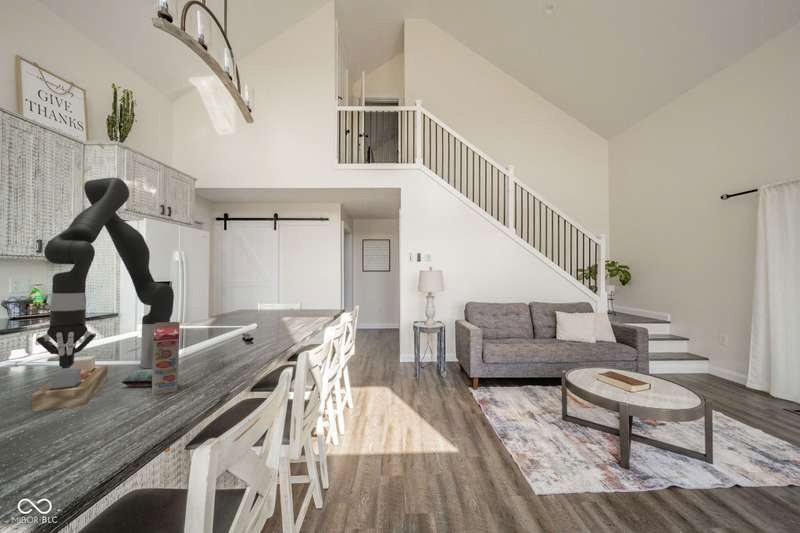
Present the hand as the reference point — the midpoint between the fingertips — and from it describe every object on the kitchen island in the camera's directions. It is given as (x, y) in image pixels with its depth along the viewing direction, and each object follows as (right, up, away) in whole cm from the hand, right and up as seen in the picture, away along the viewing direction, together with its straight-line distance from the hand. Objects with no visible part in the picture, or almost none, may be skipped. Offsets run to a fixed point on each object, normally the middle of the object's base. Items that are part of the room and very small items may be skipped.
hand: (66, 367), depth 99 cm
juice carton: (+21, -11, +11) cm, 26 cm away
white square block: (-8, -5, +14) cm, 17 cm away
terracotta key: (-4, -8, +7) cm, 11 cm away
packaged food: (+11, -11, +17) cm, 23 cm away
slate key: (0, -5, 0) cm, 5 cm away
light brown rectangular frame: (-4, -10, +7) cm, 13 cm away
